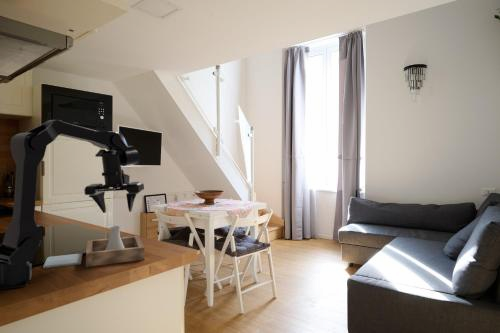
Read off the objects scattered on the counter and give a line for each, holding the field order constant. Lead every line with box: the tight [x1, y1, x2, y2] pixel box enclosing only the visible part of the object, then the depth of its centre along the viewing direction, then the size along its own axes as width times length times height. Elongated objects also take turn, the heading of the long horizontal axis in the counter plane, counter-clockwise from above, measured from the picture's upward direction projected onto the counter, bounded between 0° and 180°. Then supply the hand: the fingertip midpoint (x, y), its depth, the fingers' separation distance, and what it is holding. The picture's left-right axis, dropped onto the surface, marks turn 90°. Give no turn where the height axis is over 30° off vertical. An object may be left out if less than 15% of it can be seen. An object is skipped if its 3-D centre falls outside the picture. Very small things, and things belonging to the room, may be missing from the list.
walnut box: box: [85, 235, 145, 268], centre depth 107 cm, size 17×17×4 cm
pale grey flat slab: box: [42, 252, 83, 269], centre depth 100 cm, size 10×10×1 cm
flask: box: [106, 225, 125, 250], centre depth 107 cm, size 7×7×10 cm
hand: (117, 212), depth 110 cm, fingers open, 9 cm apart
